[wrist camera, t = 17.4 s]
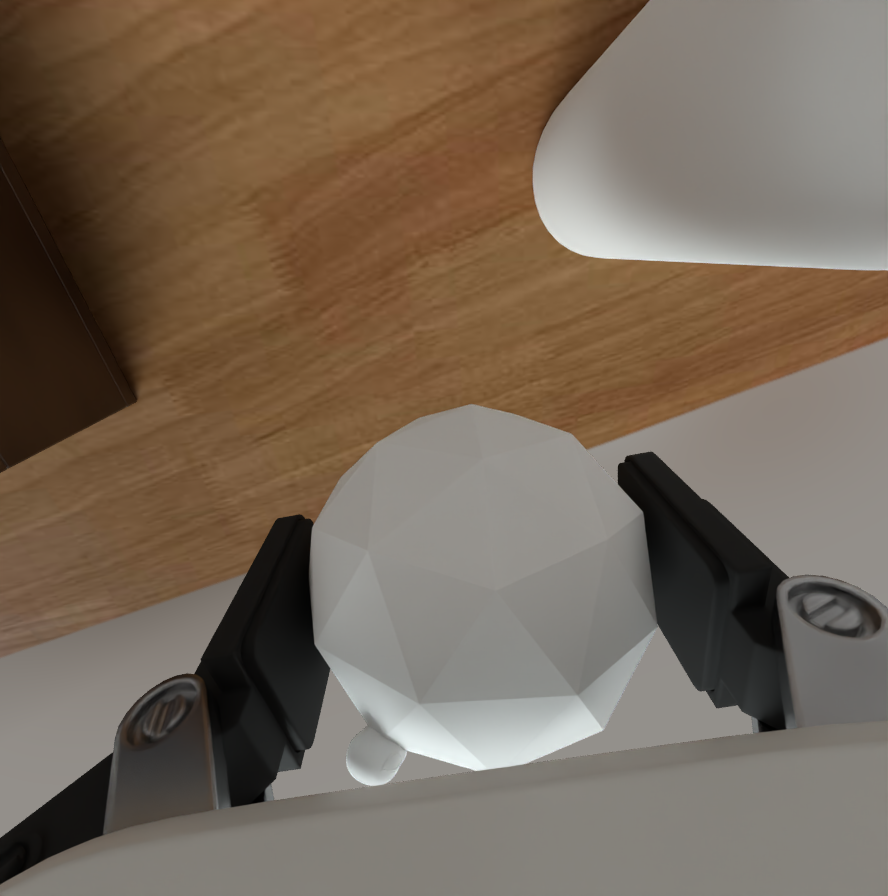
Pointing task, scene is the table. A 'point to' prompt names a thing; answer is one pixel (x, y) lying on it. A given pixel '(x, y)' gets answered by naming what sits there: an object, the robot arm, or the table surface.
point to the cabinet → (45, 337)
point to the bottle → (727, 138)
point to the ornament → (478, 592)
